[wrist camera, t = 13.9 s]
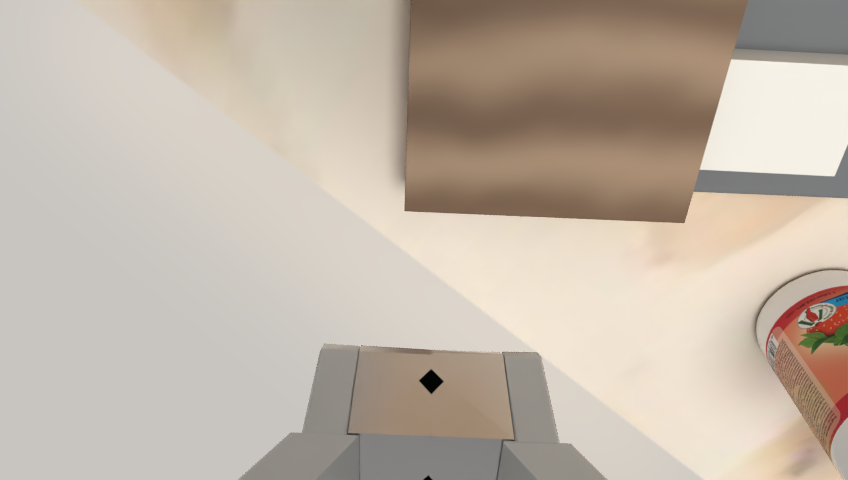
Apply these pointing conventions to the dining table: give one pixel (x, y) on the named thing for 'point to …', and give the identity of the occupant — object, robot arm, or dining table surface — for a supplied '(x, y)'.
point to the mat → (796, 32)
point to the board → (564, 105)
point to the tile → (781, 114)
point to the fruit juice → (812, 354)
